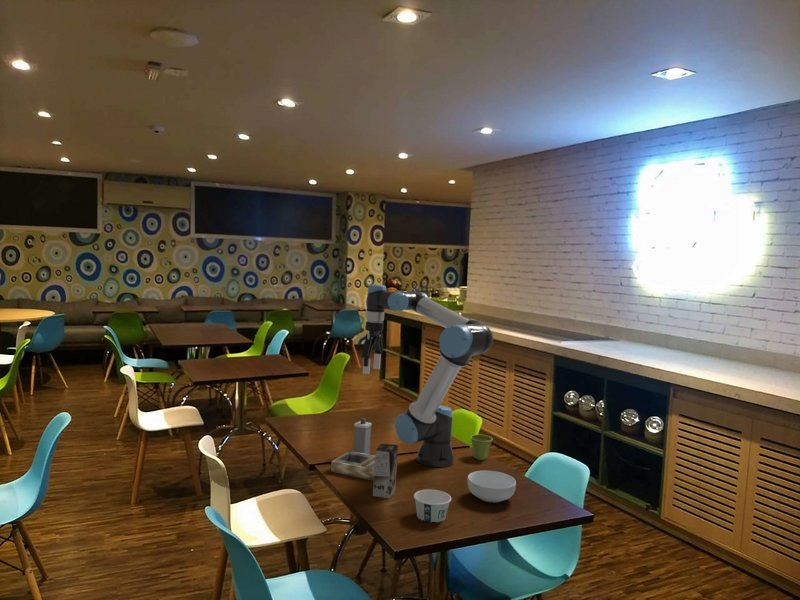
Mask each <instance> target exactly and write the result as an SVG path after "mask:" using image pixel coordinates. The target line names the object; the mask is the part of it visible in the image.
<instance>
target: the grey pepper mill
mask: <svg viewBox="0 0 800 600" xmlns="http://www.w3.org/2000/svg"><path fill="white" fill-rule="evenodd" d="M366 419H367V418H366V417H361V418H360V421H357V422H356V423H354V424H353V427H354V428H353V429H354V432H353V449H352V451H354V452H359V453H364V454H369V455H370V449H371V433H372V431H371V430H372V425H373V424H372V422H368V421H366Z"/></svg>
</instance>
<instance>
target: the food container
mask: <svg viewBox="0 0 800 600" xmlns="http://www.w3.org/2000/svg"><path fill="white" fill-rule="evenodd" d="M413 498H414V500H415V511H416V517H417V519H419V520H420V519H421V521H423V520H424V521H423V522H426V521H428V522H427V523H432V522H436V523H441V521H442V522H444V521H445V520H446V517H447V514H448V510H449V505H450V502H451V501H452V497H451V495H450V494H449V493H447V492H445V491H442V490H437V489H422V490H421V489H420V490H418V491H415V493H414V494H413Z"/></svg>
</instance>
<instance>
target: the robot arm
mask: <svg viewBox="0 0 800 600" xmlns="http://www.w3.org/2000/svg"><path fill="white" fill-rule="evenodd" d="M366 299H367V300H366V312H365V320H366V321H365V328H364V329H365V331H367V332H368V333H366V334H365V339H364V344H363V348H362V353H361V357H360V358H361V359H363V362H362V374H363V375H370V367H371V358H370V357H371V354H372V351H373V348H374V355H373V368H372V369H374V370H375V369H376V370H380V369H381V356H382V355H383V354H384V351H383V337H382V334H383V333H382V332H383V331H384V321H385V310H390V311H394V312H403V311H413V312H415V313H417V314H419V315H421V316H422V317H425V318H427V319H428V320H429V321H431V322H434V323H436V325H439V326H441V327H442V328H444V330H442V332H441V334H440V336H439V338H438V339H439V340H438V342H439V344H438V345H439V346H438V347H439V351H438V352H439V354H440V356H439V358H438V360H437V362H436V364H435V365H434V368H433V369H432V370H431V371H432V372H431V373H430V375H429V377H428V379H427V380H426V382H425V384H424V387H423V388H422V390H421V391H420V393H419V395H418V396H417V399H416V401H414V402H411V403H409V406H408V408H407V409H406V411H405V412H404V413H400V414H399V415H397V417H396V419H395V420H394V421H395V422H394V429H395V433H396V435H397V437H398V438H399V439H400V441H401V442H403V443H405V444H416V443H420V442H421V444H420V446H419V448H418V451H417V455H416V461H417V462H418V463H419V464H421V465H423V466H428V467H433V468H444V467H449V466H450V467H451V466H452V465H454V462H455V455H454V453H453V448H452V444H451V443H452V442H451V440H452V428H453V418H454V417H453V410H452V408H451V407H448V406H446V405H442V402H443V400H444V398H445V396H446V394H447V393H448V391H449V389H450V388H451V386H452V385H453V382H454V380H455V379H456V377H457V375H458V373H459V371H460V370H461V369H462V368H464V367H467V366H468V364H469V363H470V360H471V359H472V357H473V356H480V355H483V354H485V353H486V352H488V351H490V349H491V348H492V345H493V343H494V342H493V341H494V335H493V332H492V330H491V329H490V328H489V327H488V326H487V325H486V324H484V323H482V322H480V321H478V320H476V319H475V318H474V319H473V318H471V319H469V318H467V317H465V316H463V315H461V314H459V313H457V312H456V311H453V310H452V309H450V308H448V307H445V306H443V305H441V304H440V303H438V302H436V301H434V300H432V299H430V298H429V297H428V295H427V294H426V293H425V292H421V291H393V290H392V291H391V290H390V291H389V290H387V287H386V285H382V284H370V285H369V286H368V289H367V298H366Z"/></svg>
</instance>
